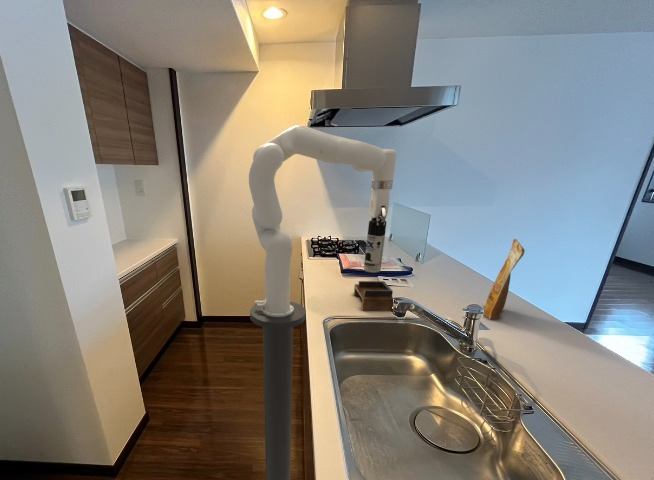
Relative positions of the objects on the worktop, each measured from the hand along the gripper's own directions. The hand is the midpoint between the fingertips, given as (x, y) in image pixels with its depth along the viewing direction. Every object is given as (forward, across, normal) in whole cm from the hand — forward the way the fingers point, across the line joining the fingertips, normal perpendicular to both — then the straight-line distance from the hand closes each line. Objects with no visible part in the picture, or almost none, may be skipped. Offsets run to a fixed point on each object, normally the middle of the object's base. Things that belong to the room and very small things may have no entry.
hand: (376, 233), depth 125 cm
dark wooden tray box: (+29, 0, +2) cm, 29 cm away
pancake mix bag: (+29, +10, +47) cm, 56 cm away
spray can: (+15, 0, 0) cm, 15 cm away
